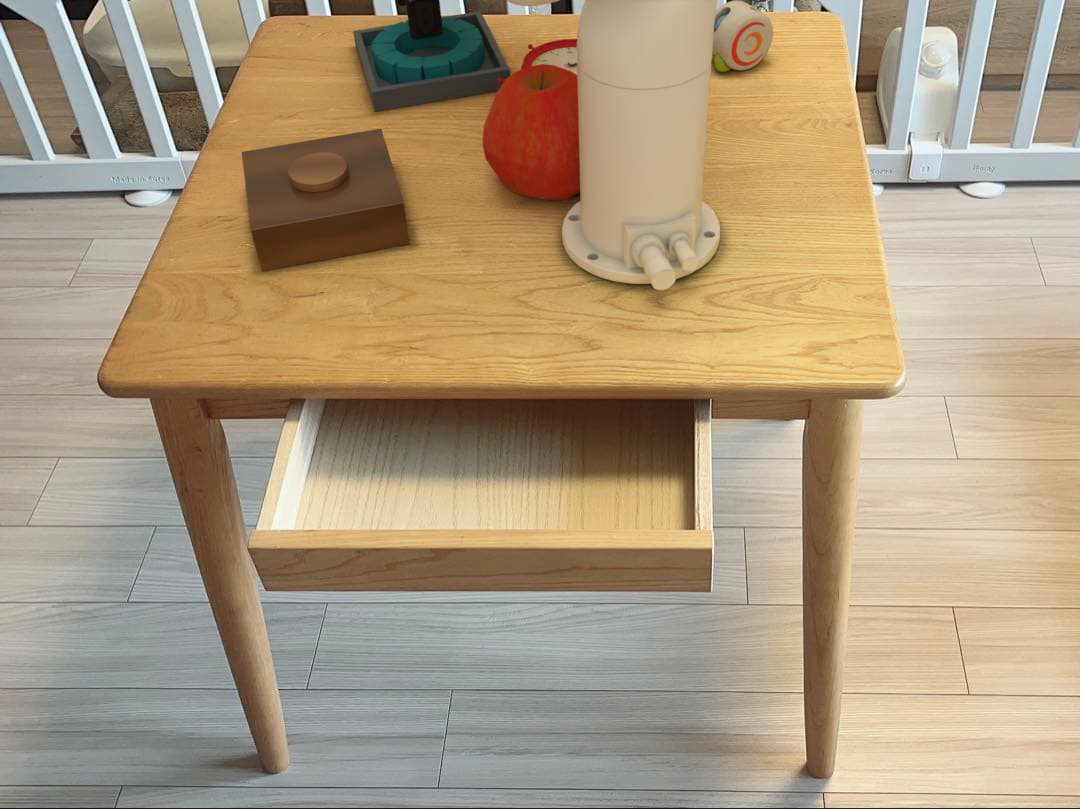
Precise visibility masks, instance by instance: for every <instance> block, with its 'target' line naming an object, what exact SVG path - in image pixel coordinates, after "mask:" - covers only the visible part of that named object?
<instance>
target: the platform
mask: <svg viewBox="0 0 1080 809" xmlns="http://www.w3.org/2000/svg"><path fill="white" fill-rule="evenodd" d="M241 160H242V168H243V178H244V186H245V193H246V203H247V212H248V218H249V219H248V220H249V227H250V234H251V238H252V240H253V244H254V248H255V252H256V255H257V259H258V263H259V267H260V270H261V272H266V271H271V270H277V269H282V268H286V267H287V268H288V267H292V266H297V265H298V266H299V265H303V264H309V263H315V262H321V261H325V260H331V259H336V258H341V257H342V258H343V257H347V256H352V255H357V254H363V253H368V252H373V251H379V250H384V249H389V248H395V247H401V246H407V245H410V244H411V242H410V235H409V229H408V223H407V215H406V210H405V203H404V200H403V196H402V192H401V190H400V187H399V183H398V179H397V176H396V173H395V169H394V166H393V162H392V160H391V156H390V153H389V149H388V146H387V142H386V139H385V136H384V132H383V129H382V128H376V129H369V130H364V131H358V132H352V133H345V134H341V135H333V136H328V137H321V138H316V139H310V140H309V139H308V140H304V141H298V142H293V143H287V144H280V145H275V146H270V147H262V148H256V149H252V150H245V151H241Z"/></svg>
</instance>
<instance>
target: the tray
mask: <svg viewBox="0 0 1080 809" xmlns="http://www.w3.org/2000/svg"><path fill="white" fill-rule="evenodd" d="M445 17H446V18H456V21H457V20H459V19H460V20H462V21H465V22H467V23H469V24H472V25H474V26H475V27H476V28H478V30H479V32H480V34H481V36H482V38H483V47H484V62H483V63H482V65H481V66H480V68H479V69H478V71H475V72H469V73H463V74H457V75H451V76H445V77H438V78H432V79H426V80H420V81H414V82H408V83H402V84H396V85H393V84H391V83H389V82H387V81H385V80H383V79H381V78H380V76H378V74H377V71H376V68H375V65H374V59H373V53H372V47H371V45H372V42H373V40H374V39H375V38H376V37H377V35H378V34H379V33H380V32H381V31H383V30H384V29H386V28H388V27H391V26H393V25H395V24H396V23H395V24H389V25H382V26H381V25H380V26H376V27H375V26H374V27H369V28H363V29H357V30H353V31H352V32H353V39H354V45H355V50H356V54H357V57H358V61H359V64H360V67H361V71H362V74H363V77H364V81H365V84H366V88H367V91H368V95H369V98H370V101H371V104H372V107H373V111H374V112H381V111H382V112H383V111H387V110H392V109H399V108H405V107H410V106H417V105H422V104H423V105H424V104H428V103H436V102H440V101H446V100H447V101H448V100H452V99H459V98H464V97H471V96H478V95H482V94H483V95H484V94H489V93H495V92H496V93H497V92H498V90H499V89H500V87H501V86H502V84H503V83H504V81H502V82H501V83H498V78H501V79H507V78H508V77H509V76H510V75H511V68H510V67H509V65H508V63H507V61H506V59H505V57H504V55H503V53H502V50H501V49H500V46H499V45H498V43H497V40H496V38H495V36H494V35H493V33H492V31H491V29H490V27H489V25H488V23H487V21H486V18H485V17H484V15H483V13H482V11H480V10H479V11H478V10H477V11H472V12H467V13H460V14H453V15H446V16H445ZM383 32H384V31H383ZM450 50H452V49H450V48H447V47H436V46H431V47H425V48H418V49H414V50H412V51H410V52H408V53H406V54H405V55H407V56H414V57H429V56H435V55H441V54H444V53H446V52H448V51H450Z"/></svg>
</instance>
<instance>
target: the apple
mask: <svg viewBox="0 0 1080 809" xmlns="http://www.w3.org/2000/svg"><path fill="white" fill-rule="evenodd" d="M482 146H483V147H482V148H483V153H484V157H485V158H484V159H485V160H486V162H487V163H488V165H489V166H490V168H491V170H492V171H493V172H494V174H495V176H496V178H498V180H499V181H500V183H501V184H502V185H503V186H504V187H505V188H506V189H509V190H510V191H512V192H514V193H516V194H519V195H522V196H527V197H530V198H534V199H540V200H547V201H562V200H568V199H570V198H572V197H574V196H576V195H579V194H580V160H579V120H578V80H577V75H576V74H575V73H573V72H571V71H569V70H566V69H563V68H560V67H557V66H555V65H547V64H541V65H535V66H531V67H527V68H524V69H522V68H521V69H519V70H517V71H515V72H513V73H511V74H510V76H509V77H508V78H507V79H506V80H505V81H504V83H503V84H502V86H501V87H500V89H499V90H498V91H496V94H495V97H494V98H493V101H492V103H491V106H490V108H489V111H488V113H487V116H486V118H485V121H484V123H483V130H482Z"/></svg>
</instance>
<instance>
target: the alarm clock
mask: <svg viewBox="0 0 1080 809" xmlns="http://www.w3.org/2000/svg"><path fill="white" fill-rule="evenodd" d="M527 49H528V50H529V51H528V52H527V53H526V54H525V56H524V58H523V60H522V63H521V69H524V68H527V67H531V66H535V65H541V64H547V65H555V66H557V67H560V68H563V69H566V70H569V71H571V72H573V73H575V74H576V75H577V38H566V39H564V38H563V39H558V40H556V39H555V40H552V41H548V42H545V43H542V44H540V45H538V46H536V47H534V46H533V44H528V45H527ZM505 80H506V79H501V78H498V83H501V82H502V81H505Z"/></svg>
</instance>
